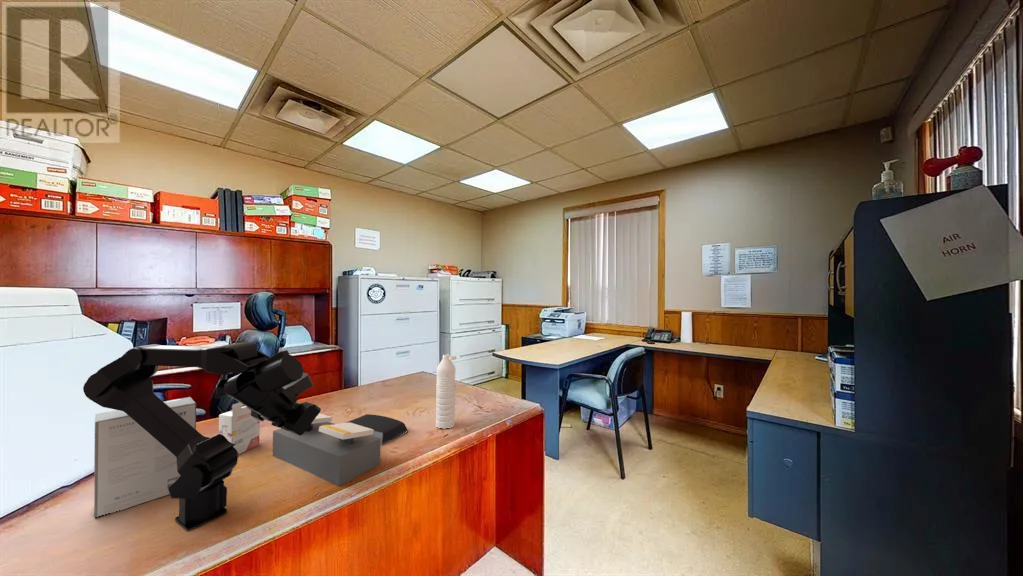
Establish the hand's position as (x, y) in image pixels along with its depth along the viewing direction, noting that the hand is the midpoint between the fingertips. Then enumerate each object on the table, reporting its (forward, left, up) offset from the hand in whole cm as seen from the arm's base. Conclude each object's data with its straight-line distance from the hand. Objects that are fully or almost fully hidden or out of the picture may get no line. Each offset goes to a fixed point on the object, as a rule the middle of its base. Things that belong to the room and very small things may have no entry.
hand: (310, 429), depth 81 cm
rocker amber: (+10, 0, -4) cm, 10 cm away
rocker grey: (+10, +18, -4) cm, 21 cm away
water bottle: (+45, -5, -14) cm, 47 cm away
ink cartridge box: (+1, +36, -14) cm, 39 cm away
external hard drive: (+28, +13, -14) cm, 34 cm away
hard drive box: (-20, +28, -14) cm, 37 cm away
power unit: (+10, +9, -14) cm, 19 cm away
